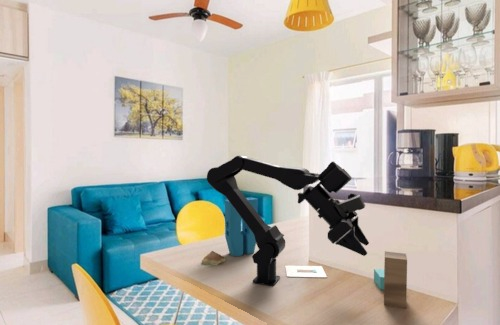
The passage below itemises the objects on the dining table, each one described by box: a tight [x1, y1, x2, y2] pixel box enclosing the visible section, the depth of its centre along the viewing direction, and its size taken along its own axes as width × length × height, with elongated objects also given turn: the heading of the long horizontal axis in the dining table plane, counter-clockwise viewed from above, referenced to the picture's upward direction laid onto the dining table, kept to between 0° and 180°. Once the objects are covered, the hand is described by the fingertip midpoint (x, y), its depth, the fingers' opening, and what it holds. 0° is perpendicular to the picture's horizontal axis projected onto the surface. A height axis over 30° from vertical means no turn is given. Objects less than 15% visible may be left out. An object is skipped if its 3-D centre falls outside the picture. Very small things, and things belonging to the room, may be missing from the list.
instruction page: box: [284, 265, 328, 279], centre depth 101 cm, size 9×12×1 cm
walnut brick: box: [383, 251, 408, 309], centre depth 81 cm, size 5×5×12 cm
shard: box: [201, 250, 227, 266], centre depth 113 cm, size 11×8×2 cm
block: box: [224, 197, 259, 257], centre depth 119 cm, size 12×5×20 cm, turn 122°
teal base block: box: [373, 268, 384, 291], centre depth 91 cm, size 6×6×4 cm
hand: (366, 249), depth 83 cm, fingers open, 9 cm apart
